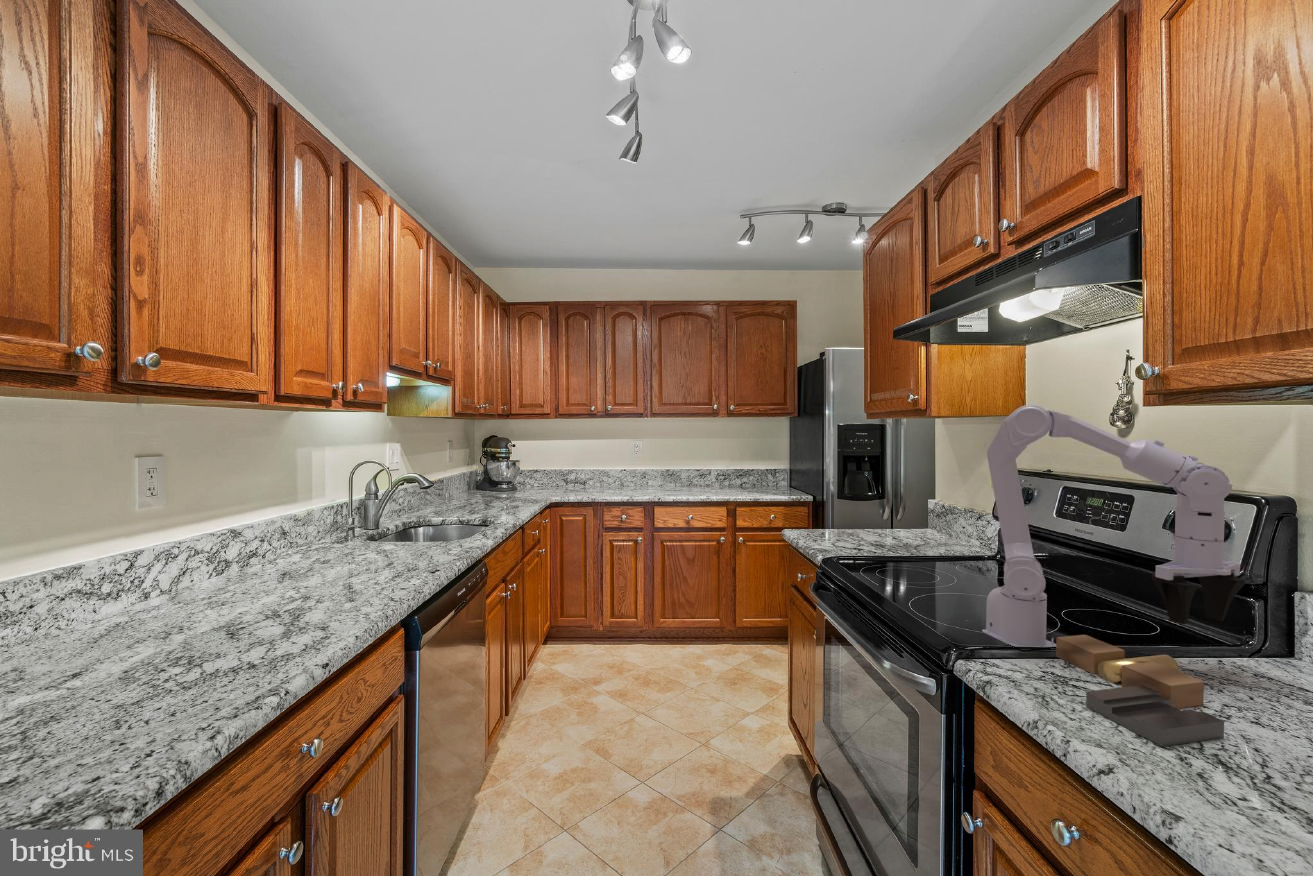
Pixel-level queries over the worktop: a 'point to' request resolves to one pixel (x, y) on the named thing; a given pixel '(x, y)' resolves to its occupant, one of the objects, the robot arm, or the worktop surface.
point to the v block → (1154, 716)
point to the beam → (1132, 670)
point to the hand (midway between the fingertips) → (1196, 620)
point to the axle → (1114, 667)
